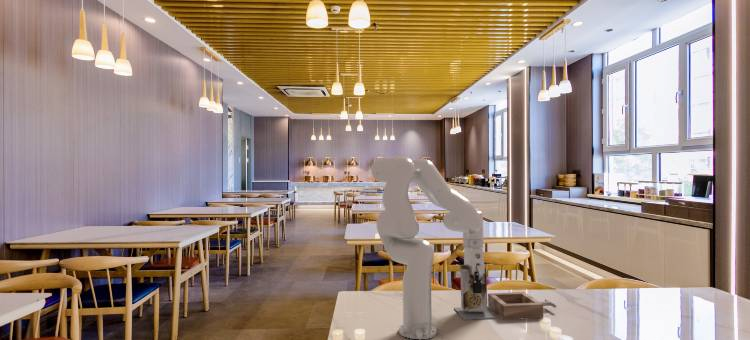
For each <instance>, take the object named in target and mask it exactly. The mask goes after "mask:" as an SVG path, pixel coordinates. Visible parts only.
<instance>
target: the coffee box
mask: <svg viewBox="0 0 750 340" xmlns="http://www.w3.org/2000/svg"><path fill="white" fill-rule="evenodd" d="M484 269H485V273H484V275H483V276H482V293H473V282H474V281H473V275H472V274H471V272H470V269H469V268H468V267H467V266H466V265H464V264H460V267H459V270H460V300H461V301H460V302H461V303H460V305H461V307H462V309H463V311H489V309H488V288H487V287H488V285H487V284H488V283H487V282H488V281H487V268H486V267H485V265H484ZM474 273H475V274H478V273H477V272H474ZM476 277H477V276H475V278H476Z"/></svg>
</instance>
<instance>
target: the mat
mask: <svg viewBox="0 0 750 340" xmlns="http://www.w3.org/2000/svg"><path fill="white" fill-rule="evenodd" d="M453 309H454V311H455V310H456V311H457V312H458V313H459V314H458V313H457V312H456V311H455V312H456V313H457V314H458V315H459V317H461V318H463V319H464V320H463V319H462V320H463V321H473V320H472V319H477V320H491V319H492V320H495V318H497V316H495V315H494V314H493V313H492V312H490V311H489V310H488V311H463V309H462V306H461V307H458V306H456V307H453Z"/></svg>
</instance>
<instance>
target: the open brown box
mask: <svg viewBox="0 0 750 340" xmlns="http://www.w3.org/2000/svg"><path fill="white" fill-rule="evenodd" d="M545 306H546V307H549V306H550V307H553V308H554V309H555V308H557V304H555V303H554V302H552V301H550V300H549V299H546V298H545V299H544V301H539V300H537V299H536V298H534V297H533V296H532V295H529V294H528V293H526V292H525V291H516V292H515V291H514V292H489V293H488V292H487V307H489V308H490V307H491V308H492V309H493V310H494V311H493V310H492V309H491V308H490V309H491V310H492V311H493V312H495V313H496V314H497V316H499V315H500V316H501V317H502V320H504V319H509V320H520V319H519V318H529V319H540V318H539V317H543V318H544V307H545ZM500 316H499V317H500ZM501 317H500V318H501Z"/></svg>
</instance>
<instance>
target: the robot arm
mask: <svg viewBox="0 0 750 340" xmlns="http://www.w3.org/2000/svg"><path fill="white" fill-rule="evenodd" d="M370 169H371V171H370V172H371V175H372V178H373V179H374V180H375V181H376V182H379V183H384V184H385V185H384V189H383V190H382V191H383V193H382V204H383V207H384V209H383V210H381V212H379V214H378V215H377V218H376V230H377V232H378V235H379V238H380V240H381V242H382V244H383V245H382V246H383V247H384V249H385V251H386V254H387V255H388V257H389V258H390V259H391V261H393V262H396V263H398V264H402V265H405V266H406V269H405V271H404V273H403V276H402V319H403V320H402V325H400V326H399V327H398V334H399V333H400V334H399V335H400V336H401V337H403V336H404V337H403V338H405V337H407V338H406V339H408V338H410V339H409V340H412V339H419V340H421V339H425V340H430V339H432V338H434V337H435V336H436V335H437V328H436V327H435V326H434V325H432V323H433V322H432V321H433V319H432V315H433V314H432V268H433V263H434V259H435V257H434V256H435V251H434V247H433V245H432V244H431V243H430V242H429V241H427V240H425V239H423V238H418V237H417V236H418V234H419V232H420V224H419V221H418V218H417V215H416V213H415V211H414V209H413V206H412V204H411V200H410V197H409V189H410V184H417V186H418V187H419V189H420V190H421V191H422V192H423V194H424V195H425V197H426V198H427V199H428V201H429V202H430V203H431V204H433V205H435V206H436V207H439V208H441V209H444V210H446V211H447V212H446V213H445V215H444V216H443V218H442V219H443V220H442V221H443V226H444V227H445V228H446V229H447V230H449V231H452V232H458V233H459V232H461V233H462V247H463V248H464V250H463V251H464V252H463V253H464V254H463V265H466V266H467V267H468V268H469V269H470V272H471V274H472V275H473V281H474V282H473V293H482V276H483V275H484V273H485V269H484V266H485V255H484V249H483V248H484V215H483V212H482V211H481V210H477V209H476V207H475V206H474V205H473V204H472V202H470V200H469V199H468V198H466V197H465V196H463V195H461V194H460V193H459V192H457V191H456V190H454V189H453V188H451V187H450V186H449V185H448V183H447V181H446V179H444V177H443V176H442V174H441V173H440V172H439V170H438V169H437V167H436V166H435V165H434V163H433V162H432V161H431V160H429V159H426V158H412V159H411V158H409V157H406V156H391V157H390V156H387V157H380V158H377V159H376V160H374V161H373V163H372V165H371V167H370ZM474 272H477V273H478V274H475V273H474ZM475 276H477V277H476V278H475ZM429 338H430V339H429Z"/></svg>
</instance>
